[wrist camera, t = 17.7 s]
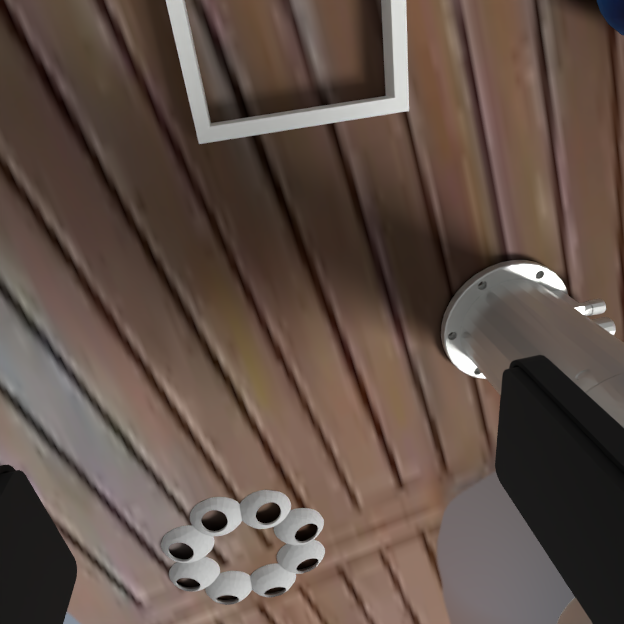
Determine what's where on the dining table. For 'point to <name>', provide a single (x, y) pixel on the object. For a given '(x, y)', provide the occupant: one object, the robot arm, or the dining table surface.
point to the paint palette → (245, 511)
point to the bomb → (613, 13)
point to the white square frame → (275, 122)
